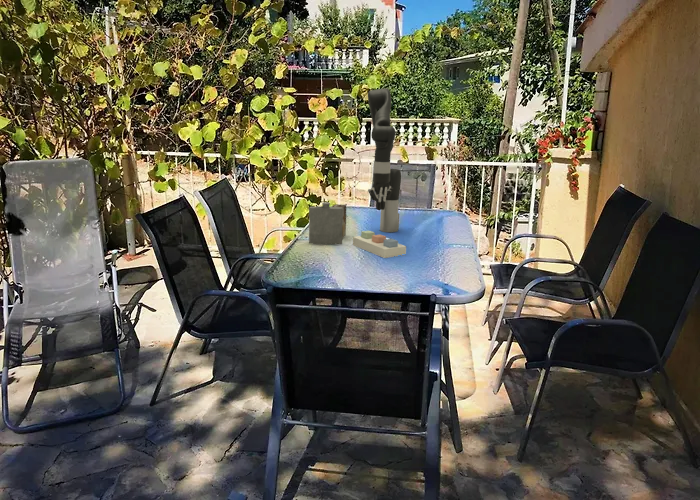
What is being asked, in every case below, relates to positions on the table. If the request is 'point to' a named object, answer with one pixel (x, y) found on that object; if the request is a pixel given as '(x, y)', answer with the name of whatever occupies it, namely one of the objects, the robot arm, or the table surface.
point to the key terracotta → (378, 238)
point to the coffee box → (343, 219)
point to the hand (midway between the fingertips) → (380, 209)
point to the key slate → (390, 243)
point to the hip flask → (325, 224)
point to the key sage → (367, 234)
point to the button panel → (378, 247)
